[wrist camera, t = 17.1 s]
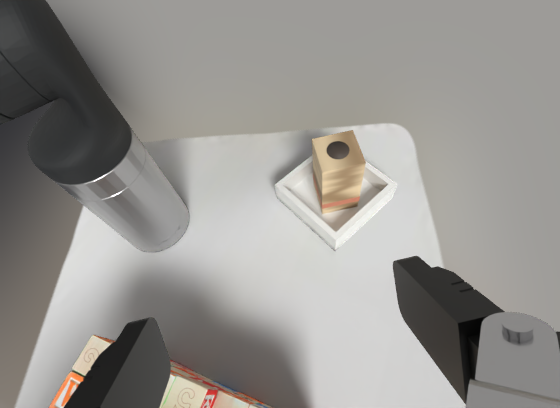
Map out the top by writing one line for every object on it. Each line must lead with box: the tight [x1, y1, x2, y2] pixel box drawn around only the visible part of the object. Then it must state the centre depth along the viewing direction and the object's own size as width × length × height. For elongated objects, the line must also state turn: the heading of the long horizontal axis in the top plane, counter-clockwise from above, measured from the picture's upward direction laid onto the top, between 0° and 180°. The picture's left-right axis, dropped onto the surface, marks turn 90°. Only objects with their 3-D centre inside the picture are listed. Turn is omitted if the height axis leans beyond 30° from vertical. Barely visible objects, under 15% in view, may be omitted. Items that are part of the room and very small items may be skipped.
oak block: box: [312, 130, 366, 214], centre depth 43 cm, size 5×5×10 cm
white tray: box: [275, 155, 397, 251], centre depth 47 cm, size 12×12×4 cm
